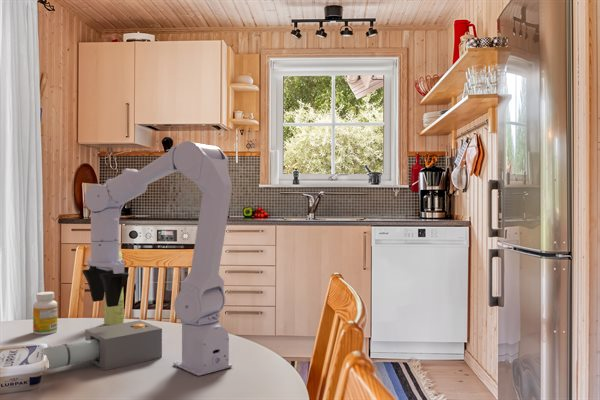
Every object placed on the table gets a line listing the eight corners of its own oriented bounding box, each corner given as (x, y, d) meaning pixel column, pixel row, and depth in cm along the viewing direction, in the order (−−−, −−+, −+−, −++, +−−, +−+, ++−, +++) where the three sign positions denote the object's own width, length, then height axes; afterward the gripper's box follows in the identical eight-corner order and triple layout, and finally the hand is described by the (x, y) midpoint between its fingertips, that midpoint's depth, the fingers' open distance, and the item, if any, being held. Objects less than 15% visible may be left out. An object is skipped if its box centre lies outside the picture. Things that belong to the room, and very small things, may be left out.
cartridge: (109, 353, 108) (109, 333, 108) (117, 357, 105) (117, 337, 105) (42, 367, 100) (42, 345, 99) (49, 372, 97) (49, 350, 96)
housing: (139, 347, 116) (139, 320, 116) (161, 357, 109) (161, 328, 109) (85, 358, 108) (85, 329, 108) (105, 370, 101) (105, 339, 101)
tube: (126, 324, 137) (127, 250, 137) (106, 327, 134) (106, 251, 134) (121, 320, 142) (121, 248, 141) (101, 322, 139) (101, 249, 139)
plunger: (141, 337, 112) (141, 323, 112) (147, 340, 111) (147, 325, 111) (131, 339, 111) (131, 324, 111) (136, 342, 109) (136, 326, 109)
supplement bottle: (33, 330, 130) (33, 291, 130) (57, 328, 133) (57, 290, 133) (32, 336, 125) (32, 295, 125) (57, 333, 128) (57, 293, 128)
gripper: (138, 241, 110) (137, 305, 110) (109, 237, 121) (109, 296, 121) (105, 243, 105) (105, 310, 105) (78, 239, 116) (78, 300, 116)
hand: (105, 303), depth 113 cm, fingers open, 7 cm apart
